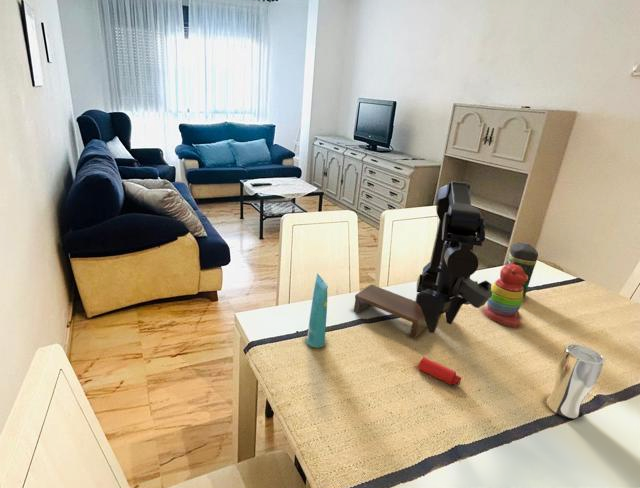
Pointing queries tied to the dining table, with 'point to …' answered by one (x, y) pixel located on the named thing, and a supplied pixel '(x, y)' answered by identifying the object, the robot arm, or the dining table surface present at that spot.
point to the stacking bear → (507, 296)
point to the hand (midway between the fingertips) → (440, 328)
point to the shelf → (392, 306)
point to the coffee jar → (523, 260)
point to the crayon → (439, 371)
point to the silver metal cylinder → (574, 379)
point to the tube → (318, 314)
